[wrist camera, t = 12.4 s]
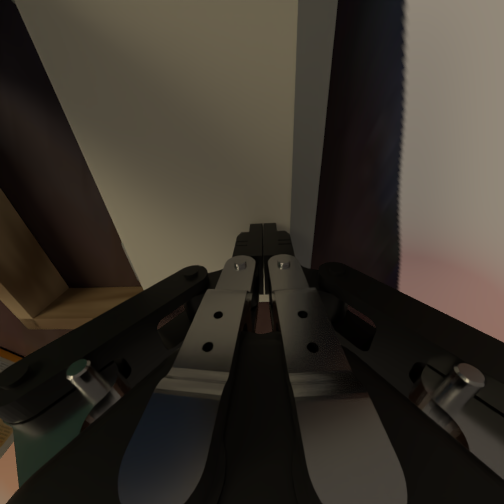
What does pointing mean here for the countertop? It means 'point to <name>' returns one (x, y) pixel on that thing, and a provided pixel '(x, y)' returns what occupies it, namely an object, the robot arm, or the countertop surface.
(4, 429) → the supplement box
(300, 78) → the cream thin rectangular board
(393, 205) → the countertop surface
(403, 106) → the countertop surface
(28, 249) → the wooden u-shaped bracket
